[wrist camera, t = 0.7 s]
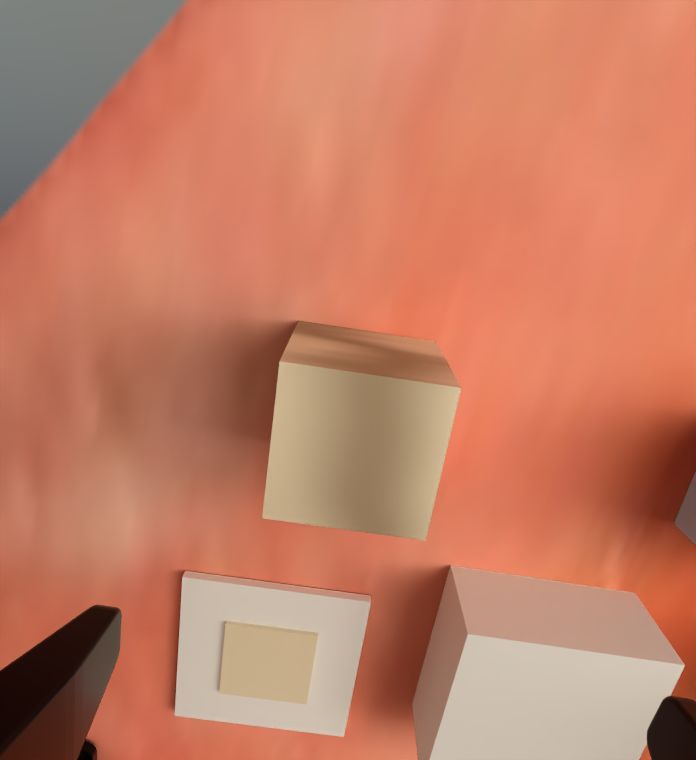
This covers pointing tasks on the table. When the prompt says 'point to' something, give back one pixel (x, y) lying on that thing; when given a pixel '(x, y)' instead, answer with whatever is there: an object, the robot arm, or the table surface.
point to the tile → (268, 653)
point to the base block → (539, 671)
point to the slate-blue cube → (688, 513)
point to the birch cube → (359, 431)
